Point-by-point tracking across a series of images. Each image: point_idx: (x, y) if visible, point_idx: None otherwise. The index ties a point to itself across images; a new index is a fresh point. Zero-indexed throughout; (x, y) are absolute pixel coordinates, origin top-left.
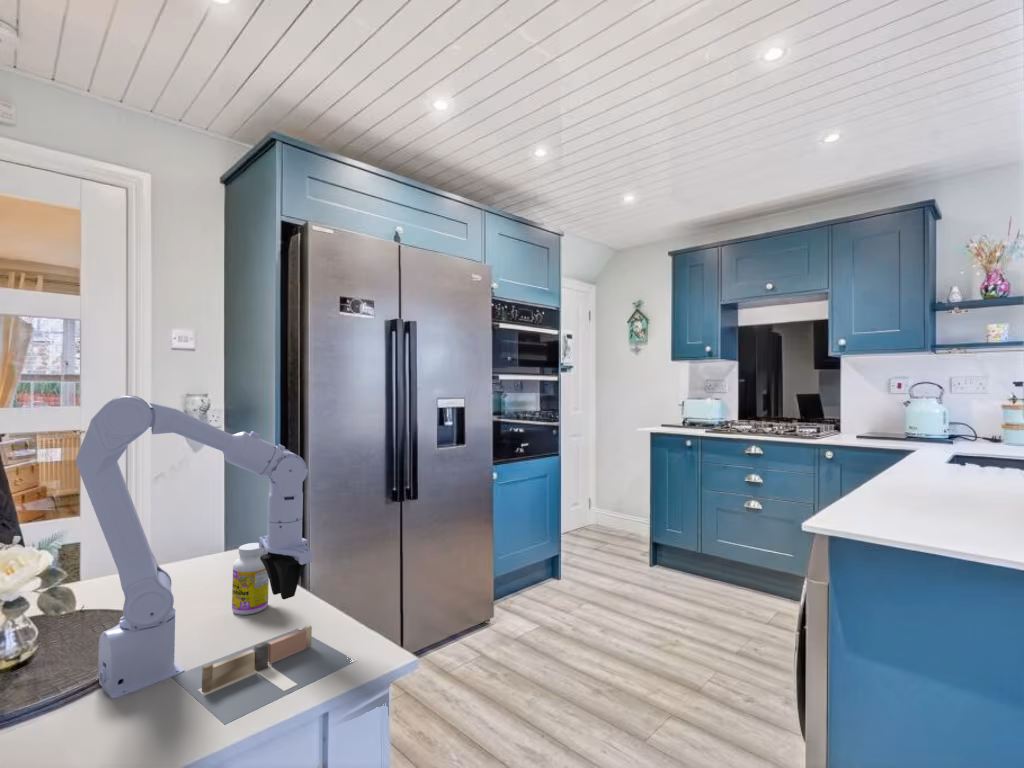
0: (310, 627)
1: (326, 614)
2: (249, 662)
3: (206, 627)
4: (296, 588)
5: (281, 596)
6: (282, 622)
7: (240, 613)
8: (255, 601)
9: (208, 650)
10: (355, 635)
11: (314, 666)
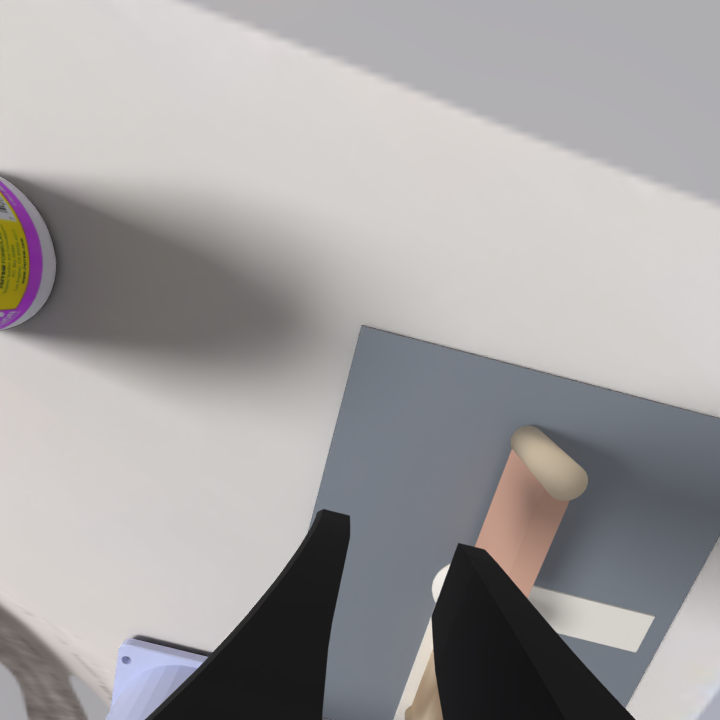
0: (581, 476)
1: (359, 121)
2: None
3: (21, 453)
4: (518, 588)
5: (435, 637)
6: (238, 291)
7: (14, 325)
8: (3, 286)
9: (198, 559)
10: (637, 244)
11: (638, 520)
